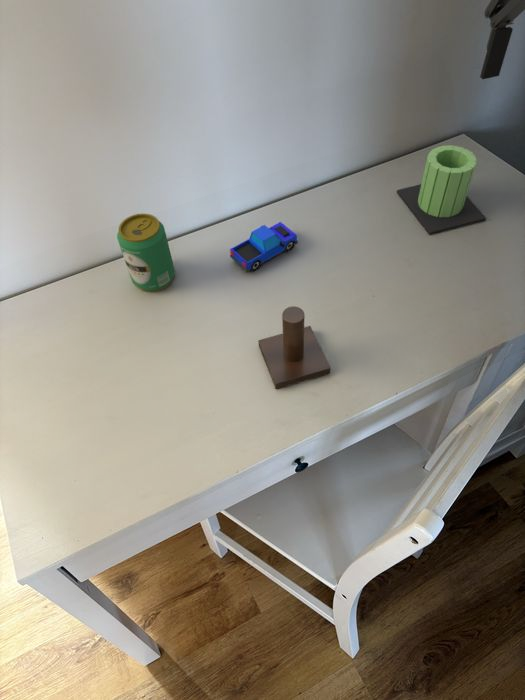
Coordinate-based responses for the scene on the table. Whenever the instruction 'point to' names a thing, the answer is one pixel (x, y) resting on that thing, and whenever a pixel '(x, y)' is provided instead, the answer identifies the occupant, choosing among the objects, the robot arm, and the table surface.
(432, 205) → the green tube
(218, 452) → the table surface
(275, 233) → the toy car
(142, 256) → the beverage can
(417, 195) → the rubber mat
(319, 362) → the stacking stand
